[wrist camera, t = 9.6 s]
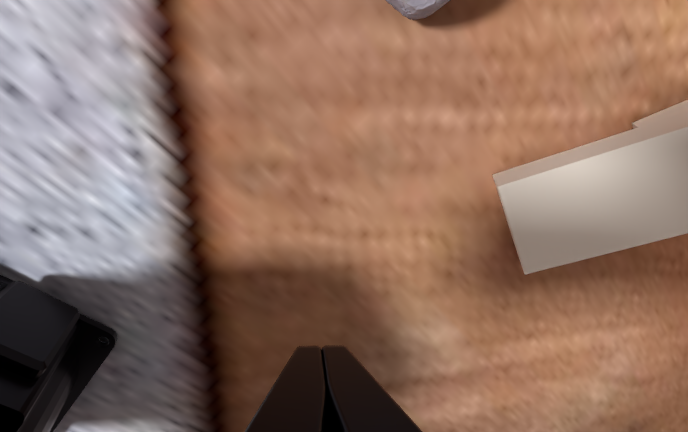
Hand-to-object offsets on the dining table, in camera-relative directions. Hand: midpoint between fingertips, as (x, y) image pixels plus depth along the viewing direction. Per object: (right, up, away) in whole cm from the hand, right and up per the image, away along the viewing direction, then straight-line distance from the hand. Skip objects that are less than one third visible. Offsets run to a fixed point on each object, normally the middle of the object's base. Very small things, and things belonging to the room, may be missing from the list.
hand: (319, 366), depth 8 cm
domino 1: (+9, +2, +15) cm, 17 cm away
